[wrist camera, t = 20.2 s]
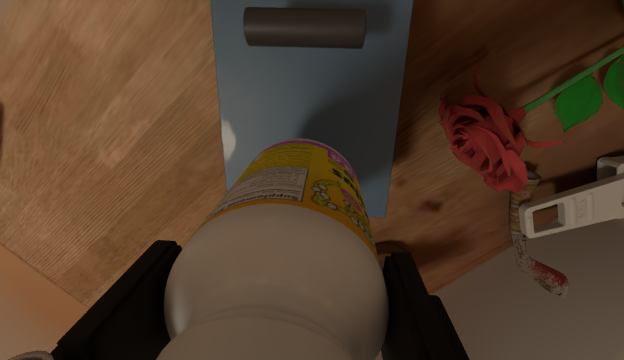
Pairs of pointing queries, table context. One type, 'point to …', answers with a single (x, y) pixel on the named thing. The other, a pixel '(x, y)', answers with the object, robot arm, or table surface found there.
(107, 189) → the table surface
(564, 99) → the flower
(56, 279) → the table surface
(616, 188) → the zipper pull
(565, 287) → the machete
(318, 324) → the supplement bottle
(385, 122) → the lid
